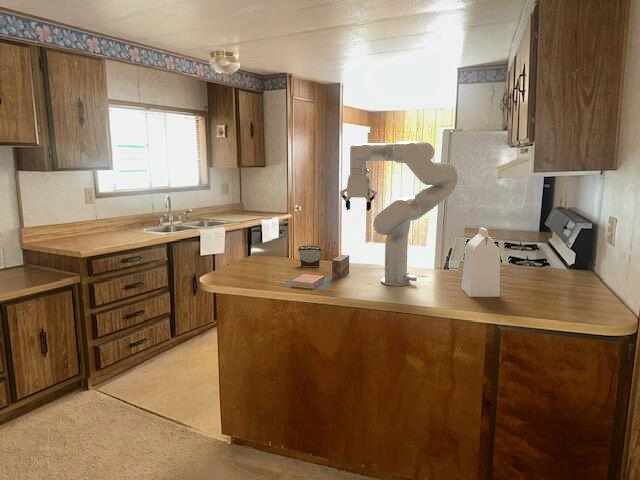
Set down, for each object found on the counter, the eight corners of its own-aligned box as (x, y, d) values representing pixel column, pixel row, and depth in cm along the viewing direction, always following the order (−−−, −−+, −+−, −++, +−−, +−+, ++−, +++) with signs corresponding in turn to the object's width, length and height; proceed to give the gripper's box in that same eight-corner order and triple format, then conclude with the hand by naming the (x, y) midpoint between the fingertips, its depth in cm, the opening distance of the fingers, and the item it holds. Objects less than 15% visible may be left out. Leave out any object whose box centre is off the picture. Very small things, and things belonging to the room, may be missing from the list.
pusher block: (349, 274, 213) (349, 255, 211) (340, 280, 202) (340, 260, 201) (341, 273, 215) (341, 254, 213) (332, 279, 204) (332, 260, 202)
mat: (339, 280, 201) (339, 279, 201) (324, 291, 186) (324, 289, 186) (299, 276, 209) (299, 275, 209) (281, 286, 194) (281, 284, 194)
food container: (323, 264, 233) (323, 245, 231) (322, 266, 227) (322, 247, 225) (299, 263, 234) (299, 244, 232) (298, 266, 228) (297, 247, 226)
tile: (324, 276, 198) (313, 283, 187) (324, 281, 198) (313, 288, 187) (303, 273, 202) (291, 280, 191) (303, 279, 202) (291, 286, 191)
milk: (461, 287, 189) (464, 226, 184) (489, 287, 188) (492, 226, 184) (469, 296, 177) (473, 231, 172) (499, 296, 177) (503, 231, 172)
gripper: (379, 172, 204) (378, 209, 207) (343, 172, 211) (343, 208, 214) (374, 172, 197) (374, 211, 200) (337, 172, 204) (337, 210, 207)
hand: (358, 210), depth 207 cm, fingers open, 9 cm apart
